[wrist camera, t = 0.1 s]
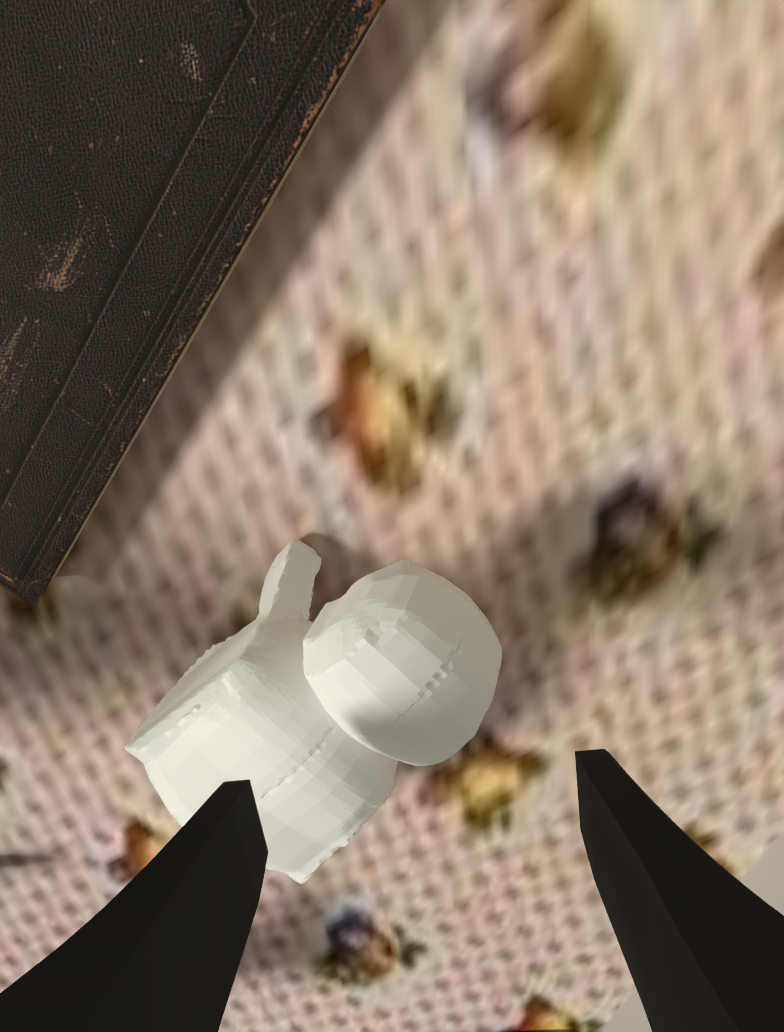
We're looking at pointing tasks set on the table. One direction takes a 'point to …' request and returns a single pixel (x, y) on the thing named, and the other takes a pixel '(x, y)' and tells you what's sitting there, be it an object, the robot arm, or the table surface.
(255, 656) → the white double-lobed plush
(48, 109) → the hardcover book
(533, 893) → the table surface
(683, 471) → the table surface
